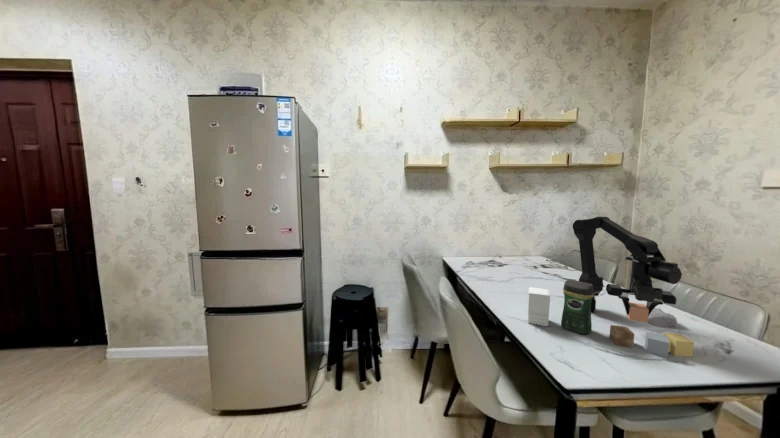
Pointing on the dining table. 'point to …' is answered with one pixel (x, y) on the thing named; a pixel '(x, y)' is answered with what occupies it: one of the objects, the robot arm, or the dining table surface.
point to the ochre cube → (680, 345)
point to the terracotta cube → (638, 312)
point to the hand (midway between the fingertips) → (636, 315)
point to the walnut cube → (621, 336)
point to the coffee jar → (577, 306)
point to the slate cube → (657, 344)
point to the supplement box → (538, 306)
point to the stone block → (661, 318)
